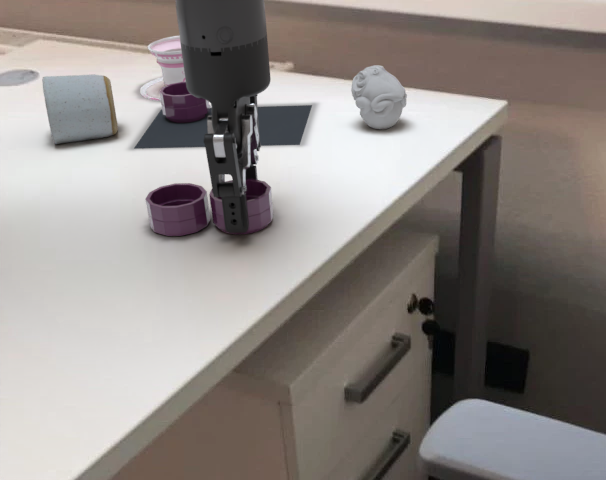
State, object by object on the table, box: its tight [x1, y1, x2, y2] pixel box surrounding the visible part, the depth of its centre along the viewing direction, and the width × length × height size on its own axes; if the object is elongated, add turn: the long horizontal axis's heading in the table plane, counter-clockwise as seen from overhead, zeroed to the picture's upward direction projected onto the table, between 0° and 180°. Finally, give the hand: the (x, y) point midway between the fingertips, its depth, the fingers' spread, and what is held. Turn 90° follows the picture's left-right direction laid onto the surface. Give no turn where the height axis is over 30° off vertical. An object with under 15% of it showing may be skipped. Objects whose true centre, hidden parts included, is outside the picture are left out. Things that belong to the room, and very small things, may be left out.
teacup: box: [139, 34, 186, 102], centre depth 121 cm, size 12×12×6 cm
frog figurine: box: [350, 64, 408, 130], centre depth 104 cm, size 6×7×7 cm
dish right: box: [208, 179, 274, 235], centre depth 86 cm, size 6×6×3 cm
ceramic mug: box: [42, 73, 119, 145], centre depth 109 cm, size 11×8×8 cm
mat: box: [133, 104, 313, 150], centre depth 109 cm, size 20×14×1 cm
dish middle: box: [144, 182, 211, 237], centre depth 87 cm, size 6×6×3 cm
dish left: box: [158, 82, 211, 123], centre depth 112 cm, size 6×6×3 cm
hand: (243, 216), depth 86 cm, fingers closed on dish right, 6 cm apart
